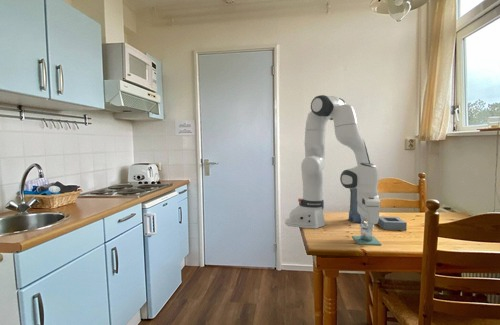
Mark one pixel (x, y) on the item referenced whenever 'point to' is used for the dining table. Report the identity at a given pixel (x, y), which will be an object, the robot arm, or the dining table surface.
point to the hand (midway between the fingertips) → (366, 227)
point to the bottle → (354, 207)
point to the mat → (361, 242)
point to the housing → (392, 223)
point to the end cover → (366, 232)
